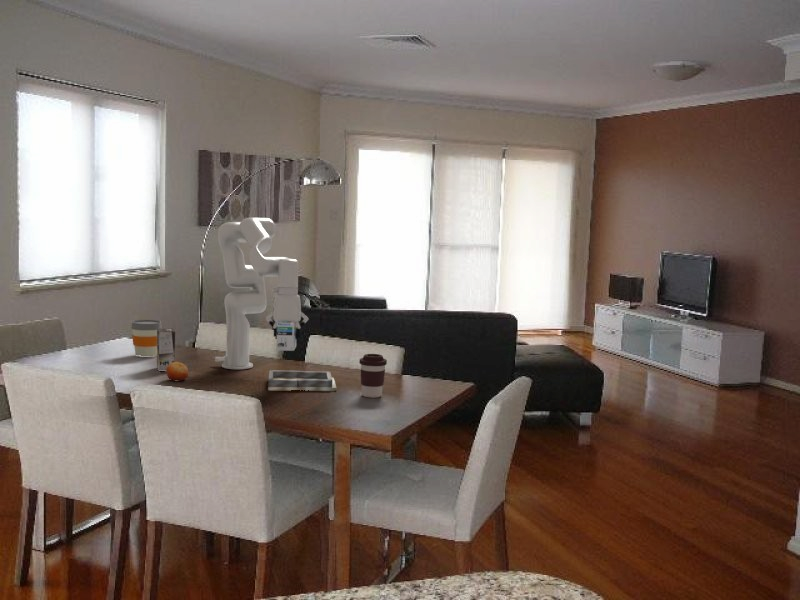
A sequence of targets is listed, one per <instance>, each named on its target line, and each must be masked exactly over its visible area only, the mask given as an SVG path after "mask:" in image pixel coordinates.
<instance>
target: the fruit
mask: <svg viewBox="0 0 800 600" xmlns="http://www.w3.org/2000/svg"><path fill="white" fill-rule="evenodd" d="M165 372H166V376H167V379H168V378H169V379H168V380H170V379H171V380H170V381H172V380H181V381H184V380H186V379H187V378H188V376H189V369H188V367H187V365H185V364H184V363H182V362H179V361H175V362H173V363H171V364H169V366H168V367H167V370H166V371H165ZM183 379H184V380H183Z"/></svg>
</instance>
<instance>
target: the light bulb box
mask: <svg viewBox="0 0 800 600" xmlns="http://www.w3.org/2000/svg"><path fill="white" fill-rule="evenodd" d="M296 328H297V326H296V324H295V322H285V321H278V322H277V339H276V351H290V352H292V351H293V352H294V351H295V349H296V348H297V339H296Z"/></svg>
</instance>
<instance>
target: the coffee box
mask: <svg viewBox="0 0 800 600" xmlns="http://www.w3.org/2000/svg"><path fill="white" fill-rule="evenodd" d="M175 349H176V331H175V330H174V328H169V327H168V328H162V329H157V357H156V369H157V368H158V369H157V371H158V370H167V367H168V366H169V364H171V363H173V362H176V361H175V357H176V355H175V353H176V350H175Z"/></svg>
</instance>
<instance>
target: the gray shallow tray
mask: <svg viewBox="0 0 800 600" xmlns="http://www.w3.org/2000/svg"><path fill="white" fill-rule="evenodd" d="M267 384H268V385H267V386H268V387H267V390H268V391H291V390H300V391H301V390H303V392H304V390H305V392H307V391H308V390H309V391H311V392H312V391H313V392H314V391H315V392H320V391H321V392H337V385H336V381H335V378H334V377H332V374H331V371H311V370H310V371H308V370H307V371H306V370H279V369H277V370H275V369H274V370H273V369H271V370H269V373H268V382H267ZM300 391H299V392H300Z"/></svg>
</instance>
